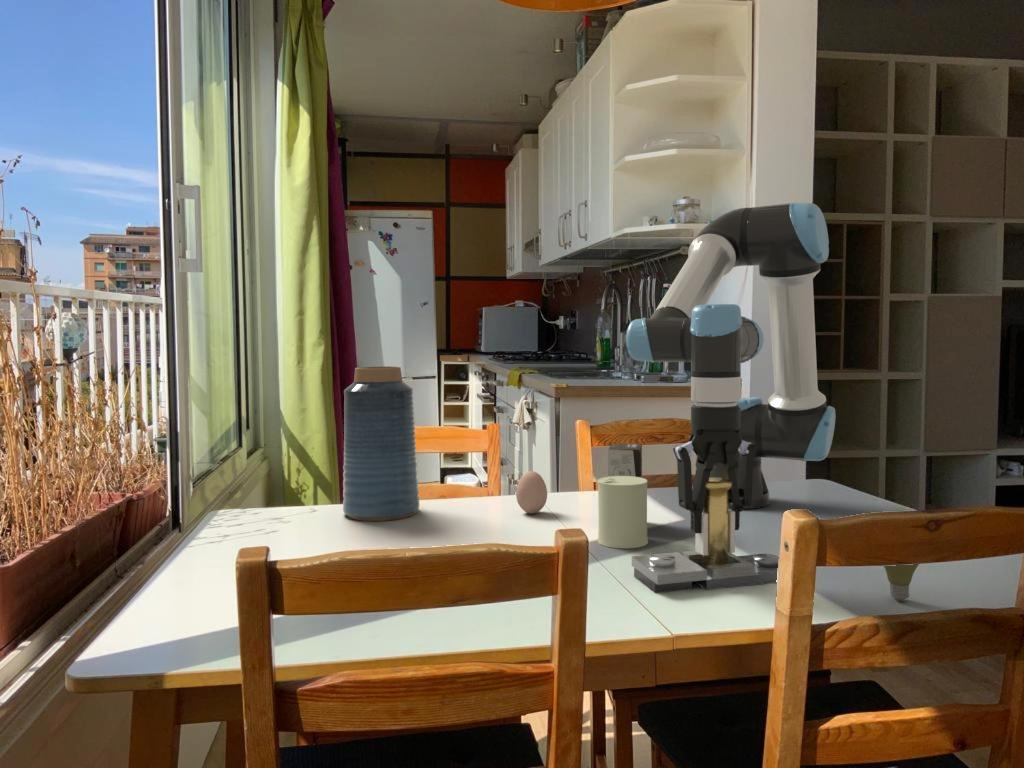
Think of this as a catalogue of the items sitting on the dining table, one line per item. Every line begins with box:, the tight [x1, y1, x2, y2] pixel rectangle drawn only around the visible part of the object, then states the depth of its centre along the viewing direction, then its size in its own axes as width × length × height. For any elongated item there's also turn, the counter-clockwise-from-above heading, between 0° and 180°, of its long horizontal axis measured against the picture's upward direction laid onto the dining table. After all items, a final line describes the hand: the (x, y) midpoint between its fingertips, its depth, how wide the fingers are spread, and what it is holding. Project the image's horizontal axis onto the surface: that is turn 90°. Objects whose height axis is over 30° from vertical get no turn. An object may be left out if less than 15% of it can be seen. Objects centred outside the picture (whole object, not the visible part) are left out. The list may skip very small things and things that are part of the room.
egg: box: [515, 470, 548, 515], centre depth 174 cm, size 7×7×9 cm
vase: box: [342, 365, 420, 522], centre depth 175 cm, size 16×16×32 cm
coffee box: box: [607, 442, 643, 478], centre depth 162 cm, size 9×6×16 cm
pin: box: [702, 478, 733, 570], centre depth 128 cm, size 5×5×14 cm
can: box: [597, 476, 649, 550], centre depth 150 cm, size 9×9×12 cm
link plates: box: [631, 550, 780, 593], centre depth 128 cm, size 24×10×4 cm, turn 104°
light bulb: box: [883, 563, 920, 602], centre depth 117 cm, size 6×6×10 cm
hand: (715, 551), depth 128 cm, fingers closed on pin, 4 cm apart
